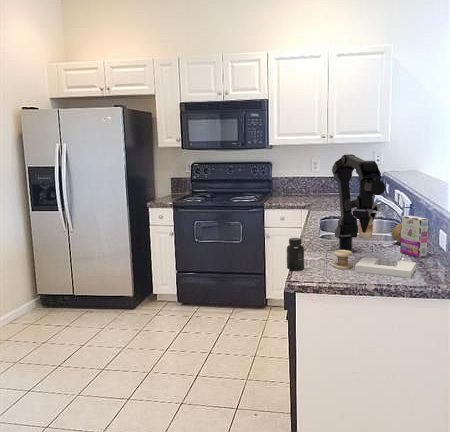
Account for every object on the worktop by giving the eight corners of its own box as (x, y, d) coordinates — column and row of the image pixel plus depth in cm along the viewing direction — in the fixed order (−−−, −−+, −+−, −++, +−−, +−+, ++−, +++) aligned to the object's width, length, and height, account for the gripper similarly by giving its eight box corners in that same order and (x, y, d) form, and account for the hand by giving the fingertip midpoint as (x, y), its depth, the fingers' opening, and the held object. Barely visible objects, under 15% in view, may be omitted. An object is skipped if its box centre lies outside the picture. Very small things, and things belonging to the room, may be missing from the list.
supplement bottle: (302, 265, 193) (302, 236, 191) (305, 270, 186) (305, 240, 184) (285, 266, 193) (285, 237, 190) (288, 271, 186) (288, 241, 184)
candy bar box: (428, 256, 202) (429, 218, 199) (418, 258, 200) (420, 219, 197) (408, 251, 212) (409, 214, 209) (399, 252, 210) (400, 215, 207)
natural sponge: (388, 244, 224) (389, 223, 223) (395, 241, 231) (396, 220, 229) (407, 247, 219) (408, 225, 217) (414, 243, 225) (415, 222, 224)
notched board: (363, 263, 194) (363, 257, 194) (415, 268, 185) (416, 262, 184) (354, 271, 183) (355, 265, 183) (410, 278, 174) (410, 271, 173)
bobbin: (336, 263, 195) (336, 249, 194) (353, 265, 191) (354, 250, 190) (331, 267, 189) (331, 253, 188) (349, 270, 185) (349, 254, 184)
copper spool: (360, 235, 197) (361, 216, 196) (373, 236, 195) (374, 217, 193) (357, 238, 193) (357, 218, 192) (370, 239, 190) (371, 219, 189)
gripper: (352, 189, 203) (352, 226, 205) (339, 194, 187) (339, 233, 189) (379, 190, 197) (378, 228, 200) (368, 195, 181) (367, 236, 184)
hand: (365, 231), depth 193 cm, fingers closed on copper spool, 5 cm apart
